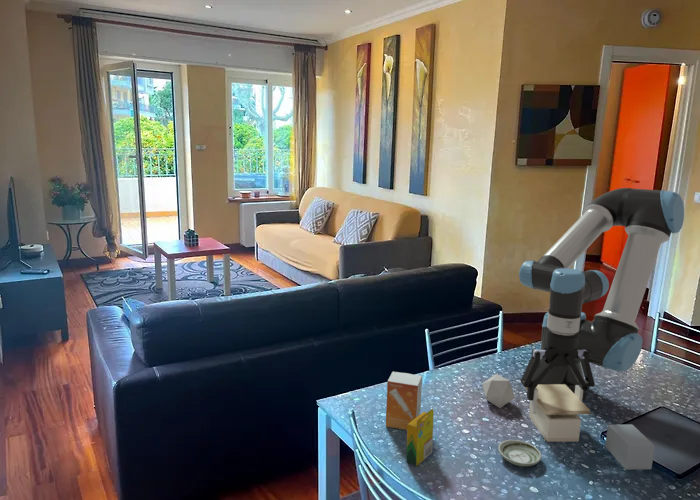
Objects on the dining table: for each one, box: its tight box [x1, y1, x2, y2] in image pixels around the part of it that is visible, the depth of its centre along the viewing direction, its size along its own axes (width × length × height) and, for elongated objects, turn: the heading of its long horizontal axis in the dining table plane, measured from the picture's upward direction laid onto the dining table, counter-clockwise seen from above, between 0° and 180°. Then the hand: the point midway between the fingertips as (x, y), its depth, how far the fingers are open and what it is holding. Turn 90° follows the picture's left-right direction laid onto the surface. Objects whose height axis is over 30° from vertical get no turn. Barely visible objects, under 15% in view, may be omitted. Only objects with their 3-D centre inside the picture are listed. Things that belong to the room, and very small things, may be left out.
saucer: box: [497, 439, 542, 467], centre depth 121 cm, size 10×10×2 cm
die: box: [481, 373, 516, 409], centre depth 147 cm, size 8×9×10 cm
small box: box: [385, 371, 423, 431], centre depth 135 cm, size 8×6×13 cm
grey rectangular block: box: [604, 423, 656, 471], centre depth 122 cm, size 6×9×6 cm, turn 2°
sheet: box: [524, 384, 591, 415], centre depth 133 cm, size 11×14×1 cm
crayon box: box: [406, 408, 434, 467], centre depth 120 cm, size 7×3×12 cm, turn 140°
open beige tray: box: [528, 404, 582, 443], centre depth 134 cm, size 8×12×6 cm, turn 2°
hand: (554, 410), depth 134 cm, fingers closed on sheet, 11 cm apart
